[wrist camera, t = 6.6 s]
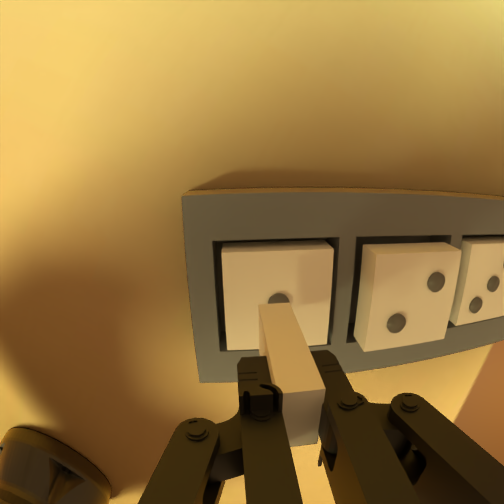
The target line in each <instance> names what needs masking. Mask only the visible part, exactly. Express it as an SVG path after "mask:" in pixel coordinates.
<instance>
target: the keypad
mask: <svg viewBox="0 0 504 504" xmlns="http://www.w3.org/2000/svg"><path fill="white" fill-rule="evenodd" d="M182 211H183V227H184V241H185V254H186V266H187V277H188V288H189V298H190V308H191V317H192V326H193V335H194V343H195V351H196V359H197V366H198V374H199V381H200V383H223V382H238V375H237V364H238V362H239V361H240V359H241V357H253V356H260V354H259V349H248V350H227V339H226V324H225V308H224V291H223V273H222V254H221V253H222V245H223V243H240V242H271V241H304V240H325V241H326V242H327V243H328V244H329V245H330V246H331V247H332V248H333V249H334V255H333V272H332V288H331V301H330V313H329V325H328V335H327V344H323V345H312V346H308V347H309V350H310V351H318V350H328V351H330V352H331V353H333V354H334V355H335V356H336V358H337V360H338V362H339V365H341V367H342V369H343V371H344V373H352V372H359V371H366V370H372V369H379V368H385V367H391V366H396V365H402V364H407V363H412V362H417V361H422V360H427V359H432V358H436V357H441V356H445V355H450V354H454V353H458V352H462V351H466V350H470V349H474V348H477V347H481V346H485V345H488V344H492V343H495V342H498V341H502V340H504V316H500V317H496V318H491V319H487V320H482V321H477V322H473V323H468V324H463V325H458V326H455V325H454V324H453V323H452V322H451V321H450V320H449V321H448V325H447V329H446V333H445V337H444V339H440V340H435V341H430V342H424V343H419V344H413V345H407V346H401V347H395V348H389V349H382V350H375V351H368V352H364V351H363V350H362V348H361V347H360V345H359V343H358V342H357V340H356V339H355V337H354V328H355V320H356V312H357V304H358V295H359V285H360V275H361V263H362V250H363V245H365V244H398V243H433V242H445V243H447V244H449V245H451V246H453V247H455V248H457V249H459V250H461V242H462V237H482V236H504V197H503V196H493V195H482V194H471V193H458V192H444V191H427V190H408V189H384V188H347V187H269V188H231V189H206V190H189V191H188V192H186V193H185V194H183V195H182Z"/></svg>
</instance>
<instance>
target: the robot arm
mask: <svg viewBox="0 0 504 504" xmlns="http://www.w3.org/2000/svg"><path fill="white" fill-rule="evenodd" d="M258 309H259V354H260V356H253V357H241V359H240V361H239V362H238V364H237V375H238V392H239V410H238V412H237V414H236V415H235V416H234V417H233V418H231V419H230V420H228V421H225V422H222V423H218V424H215V423H213V422H212V421H210V420H207V419H204V418H192V419H188V420H185V421H184V422H182V423H180V424H179V426H178V427H177V428H176V430H175V432H174V434H173V436H172V438H171V439H170V441H169V443H168V445H167V447H166V449H165V451H164V453H163V455H162V457H161V459H160V461H159V463H158V465H157V467H156V469H155V471H154V473H153V475H152V477H151V479H150V481H149V483H148V485H147V487H146V489H145V491H144V492H143V494H142V496H141V498H140V500H139V502H138V504H218V503H219V500H220V497H221V494H222V490H223V487H224V484H225V480H228V479H231V478H234V477H237V476H241V475H244V479H245V491H246V503H247V504H303V502H302V497H301V493H300V489H299V484H298V480H297V475H296V471H295V467H294V462H293V458H292V453H291V449H290V447H294V446H302V445H310V444H317V442H318V436H320V440H321V443H322V444H321V450H320V455H319V460H318V466H321V465H322V461H323V464H324V467H325V470H326V474H327V477H328V480H329V484H330V487H331V490H332V493H333V497H334V500H335V503H336V504H504V466H503V465H502V464H501V463H499V462H498V461H497V460H496V459H495V458H494V457H492V456H491V455H490V454H489V453H488V452H486V451H485V450H484V449H483V448H481V446H479V445H478V444H477V443H476V442H474V441H473V440H472V439H471V438H470V437H469V436H467V435H466V434H465V433H464V432H463V431H461V430H460V429H459V428H458V427H457V426H456V425H454V424H453V423H452V422H451V421H450V420H448V419H447V418H446V417H445V416H444V415H443V414H441V413H440V412H439V411H438V410H437V409H435V408H434V407H433V406H432V405H431V404H430V403H428V402H427V401H426V400H425V399H424V398H422V397H420V396H419V395H417V394H413V393H402V394H398V395H397V396H395V397H394V398H393V399H392V401H391V404H377V403H370V402H368V401H367V399H366V398H365V397H364V396H363V395H361V394H359V393H357V392H354V390H353V388H352V386H351V384H350V382H349V381H348V379H347V377H346V375H345V373H344V371H343V369H342V367H341V365H339V362H338V360H337V358H336V356H335V355H334V354H333V353H331V352H330V351H328V350H318V351H310V350H309V347H308V345H307V343H306V340H305V338H304V336H303V333H302V331H301V328H300V326H299V324H298V321H297V319H296V317H295V314H294V312H293V310H292V307H291V305H290V303H273V304H258ZM110 496H111V486H110V484H109V482H108V480H107V479H106V477H105V476H104V475H103V474H102V473H101V472H100V471H99V470H98V469H97V468H96V467H95V466H94V465H93V464H92V463H90V462H89V461H88V460H87V459H85V458H84V457H83V456H81V455H80V454H78V453H77V452H75V451H74V450H72V449H71V448H69V447H67V446H66V445H64V444H62V443H61V442H59V441H57V440H55V439H53V438H51V437H49V436H47V435H44V434H42V433H39V432H36V431H33V430H30V429H25V428H12V429H10V430H9V431H8V432H7V433H6V435H5V436H4V438H3V439H2V441H1V443H0V504H108V503H109V499H110Z"/></svg>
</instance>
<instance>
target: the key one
mask: <svg viewBox="0 0 504 504" xmlns="http://www.w3.org/2000/svg"><path fill="white" fill-rule="evenodd" d="M221 254H222V273H223V291H224V308H225V324H226V339H227V350H248V349H259V309H258V304H273V303H290V305H291V307H292V310H293V312H294V314H295V317H296V319H297V321H298V324H299V326H300V328H301V331H302V333H303V336H304V338H305V340H306V343H307V345H308V346H312V345H323V344H327V335H328V325H329V313H330V301H331V288H332V272H333V255H334V249H333V248H332V247H331V246H330V245H329V244H328V243H327V242H326V241H325V240H304V241H271V242H240V243H223V245H222V253H221Z"/></svg>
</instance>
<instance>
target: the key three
mask: <svg viewBox="0 0 504 504" xmlns="http://www.w3.org/2000/svg"><path fill="white" fill-rule="evenodd" d="M461 251H462V254H461V260H460V267H459V273H458V278H457V284H456V289H455V294H454V299H453V303H452V308H451V312H450V317H449V320H450V321H451V322H452V323H453V324H454V325H455V326H458V325H463V324H468V323H473V322H477V321H482V320H487V319H491V318H496V317H500V316H504V236H482V237H462V242H461Z"/></svg>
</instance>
